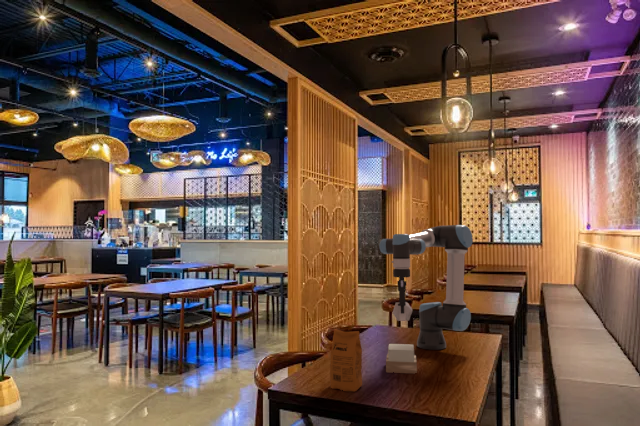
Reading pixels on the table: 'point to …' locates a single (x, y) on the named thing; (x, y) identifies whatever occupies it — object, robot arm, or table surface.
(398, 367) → the bottom slab
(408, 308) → the die
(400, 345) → the top slab
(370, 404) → the table surface
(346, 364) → the coffee package
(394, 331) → the table surface
